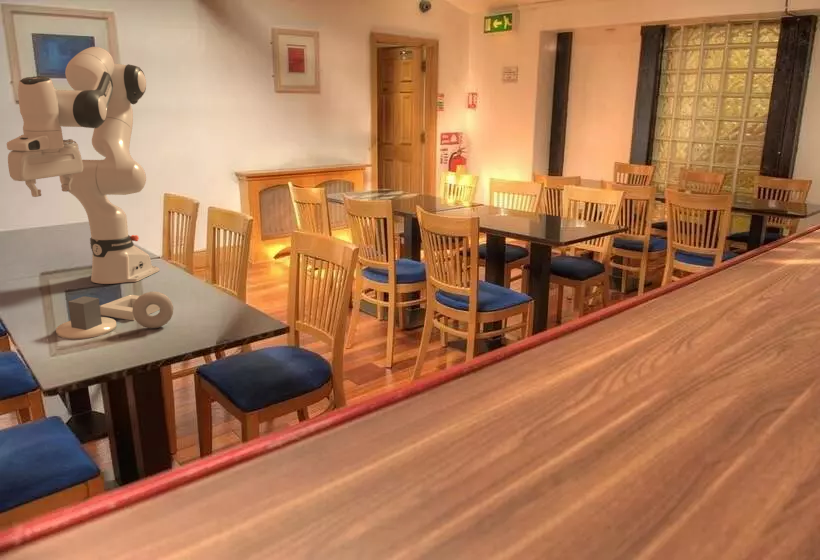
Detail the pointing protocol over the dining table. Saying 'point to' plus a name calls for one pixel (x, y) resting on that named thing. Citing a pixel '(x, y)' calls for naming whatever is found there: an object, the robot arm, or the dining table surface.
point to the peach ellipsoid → (75, 333)
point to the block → (85, 312)
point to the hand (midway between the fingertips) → (52, 193)
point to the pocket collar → (124, 308)
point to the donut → (150, 299)
